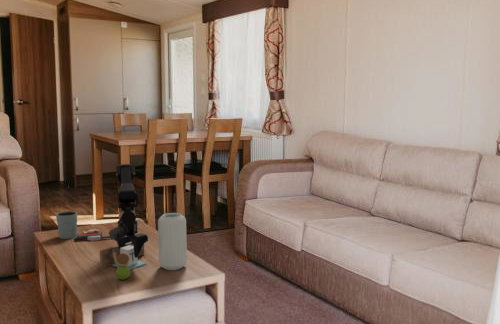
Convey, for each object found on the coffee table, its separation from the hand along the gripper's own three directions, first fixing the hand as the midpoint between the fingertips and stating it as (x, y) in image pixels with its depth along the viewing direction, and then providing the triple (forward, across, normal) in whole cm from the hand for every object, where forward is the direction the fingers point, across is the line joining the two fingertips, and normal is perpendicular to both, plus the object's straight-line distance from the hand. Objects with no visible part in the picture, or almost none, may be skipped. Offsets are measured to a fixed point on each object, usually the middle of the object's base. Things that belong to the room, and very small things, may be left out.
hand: (129, 255), depth 212 cm
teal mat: (+4, 0, 0) cm, 4 cm away
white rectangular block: (+4, 0, 0) cm, 4 cm away
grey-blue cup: (+4, -59, +7) cm, 60 cm away
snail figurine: (+4, +11, -12) cm, 17 cm away
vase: (+4, +16, +10) cm, 19 cm away
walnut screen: (+4, -7, +2) cm, 8 cm away
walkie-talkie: (+5, -46, +14) cm, 48 cm away
